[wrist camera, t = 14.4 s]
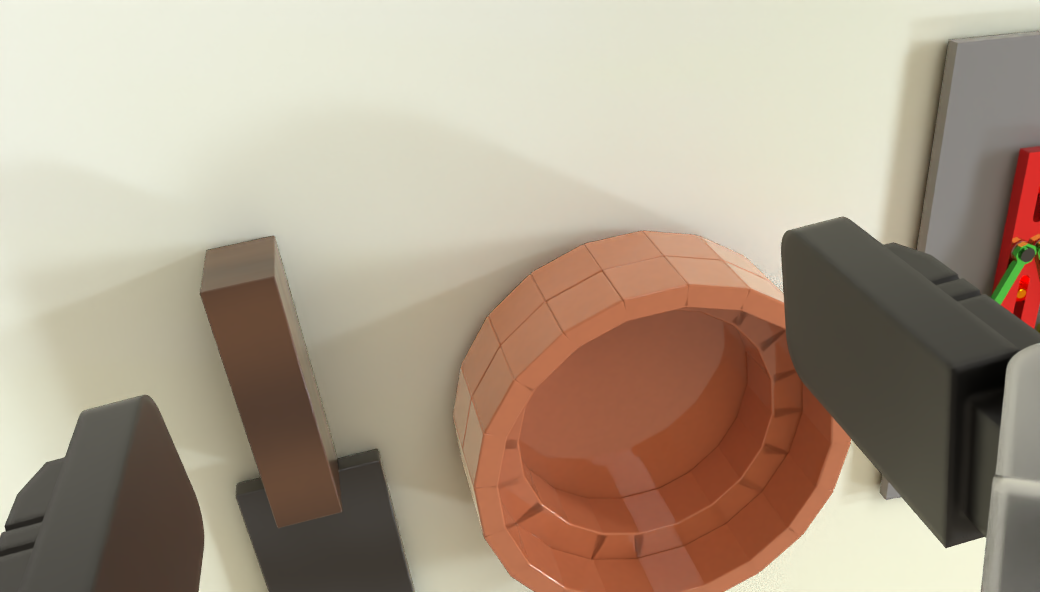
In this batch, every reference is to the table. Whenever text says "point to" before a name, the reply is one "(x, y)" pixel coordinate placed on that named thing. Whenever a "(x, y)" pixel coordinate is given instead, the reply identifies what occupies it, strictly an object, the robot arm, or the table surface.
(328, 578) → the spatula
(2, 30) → the table surface
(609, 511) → the bowl
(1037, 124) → the gear board
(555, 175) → the table surface
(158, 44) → the table surface
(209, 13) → the table surface
